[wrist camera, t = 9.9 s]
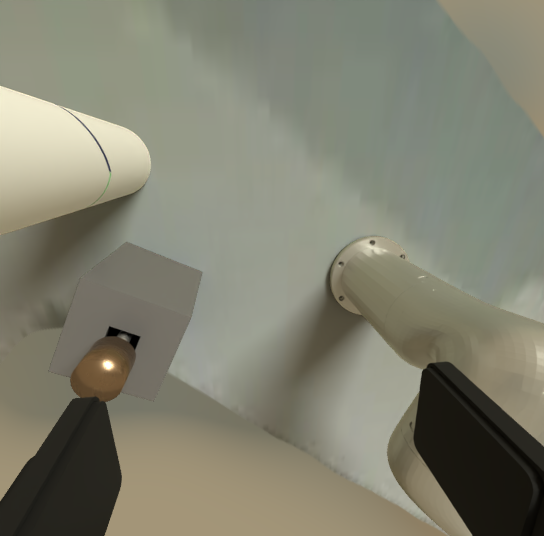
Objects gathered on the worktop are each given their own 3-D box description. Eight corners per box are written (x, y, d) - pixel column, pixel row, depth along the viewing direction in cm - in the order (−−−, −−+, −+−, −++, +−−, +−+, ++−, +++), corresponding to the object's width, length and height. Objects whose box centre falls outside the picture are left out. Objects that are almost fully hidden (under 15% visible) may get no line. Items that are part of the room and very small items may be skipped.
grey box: (202, 272, 48) (191, 317, 34) (174, 334, 50) (153, 401, 36) (126, 242, 45) (80, 277, 31) (101, 309, 47) (48, 371, 34)
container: (106, 109, 40) (-192, -23, 12) (164, 159, 42) (35, 154, 14) (65, 162, 41) (-297, 163, 13) (123, 209, 44) (-71, 295, 15)
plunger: (186, 280, 46) (158, 358, 28) (167, 326, 48) (128, 429, 30) (131, 259, 45) (62, 328, 26) (113, 307, 46) (35, 405, 28)
